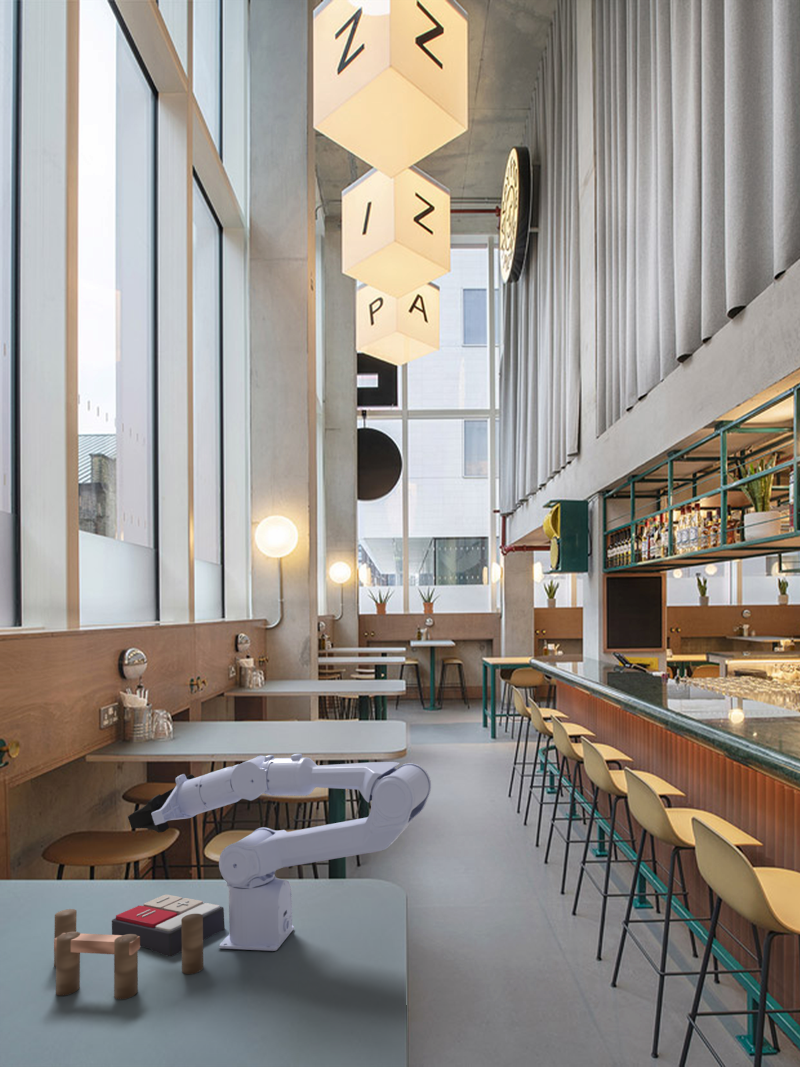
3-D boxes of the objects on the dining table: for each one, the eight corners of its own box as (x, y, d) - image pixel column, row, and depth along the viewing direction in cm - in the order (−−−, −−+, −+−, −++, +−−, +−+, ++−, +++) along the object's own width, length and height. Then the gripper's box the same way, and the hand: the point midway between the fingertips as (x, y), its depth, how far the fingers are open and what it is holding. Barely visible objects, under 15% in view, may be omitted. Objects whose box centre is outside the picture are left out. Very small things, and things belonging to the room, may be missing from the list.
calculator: (166, 891, 122) (224, 901, 114) (167, 917, 121) (226, 929, 113) (110, 915, 113) (169, 928, 105) (110, 943, 112) (170, 958, 104)
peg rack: (207, 964, 101) (206, 913, 102) (170, 1002, 91) (169, 946, 92) (63, 956, 106) (63, 908, 107) (13, 992, 96) (14, 939, 97)
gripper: (225, 753, 122) (164, 774, 125) (176, 784, 108) (109, 806, 111) (239, 792, 121) (177, 811, 125) (191, 828, 107) (123, 849, 111)
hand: (145, 811), depth 118 cm, fingers open, 7 cm apart
